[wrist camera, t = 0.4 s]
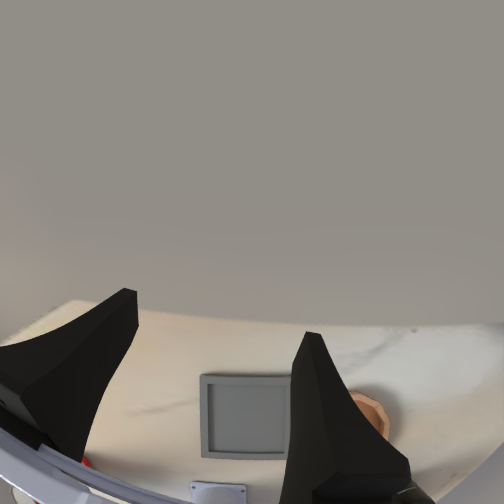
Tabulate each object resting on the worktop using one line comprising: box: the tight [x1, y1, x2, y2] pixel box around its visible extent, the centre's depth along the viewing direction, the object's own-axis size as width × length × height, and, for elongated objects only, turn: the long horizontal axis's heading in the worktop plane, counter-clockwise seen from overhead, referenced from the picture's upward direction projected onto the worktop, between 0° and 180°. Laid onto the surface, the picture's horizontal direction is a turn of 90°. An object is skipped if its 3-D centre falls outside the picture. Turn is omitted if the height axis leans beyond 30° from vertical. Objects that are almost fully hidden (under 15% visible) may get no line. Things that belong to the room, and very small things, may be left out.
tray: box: [200, 374, 291, 460], centre depth 36 cm, size 12×12×1 cm
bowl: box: [349, 391, 390, 441], centre depth 35 cm, size 13×13×2 cm
